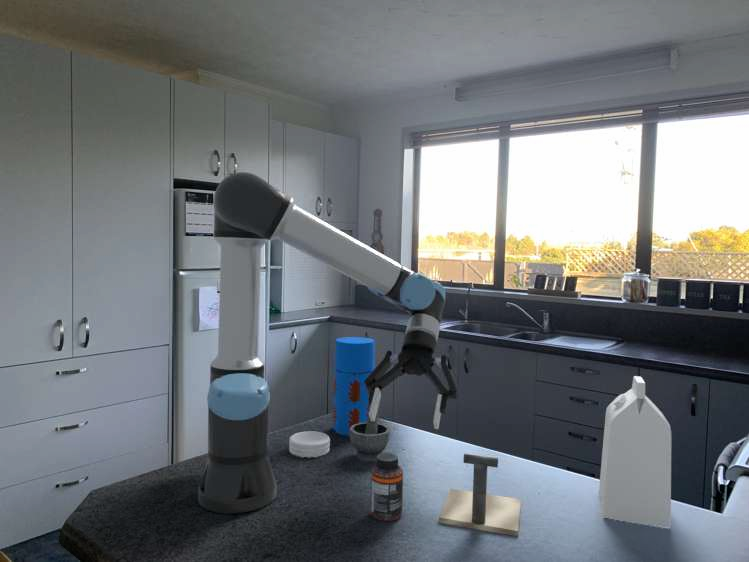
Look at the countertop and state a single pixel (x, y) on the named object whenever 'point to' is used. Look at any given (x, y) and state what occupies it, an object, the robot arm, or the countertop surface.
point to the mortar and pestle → (369, 438)
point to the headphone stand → (481, 503)
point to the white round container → (309, 444)
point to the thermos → (352, 381)
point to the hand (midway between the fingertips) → (403, 422)
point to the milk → (636, 460)
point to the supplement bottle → (386, 488)
